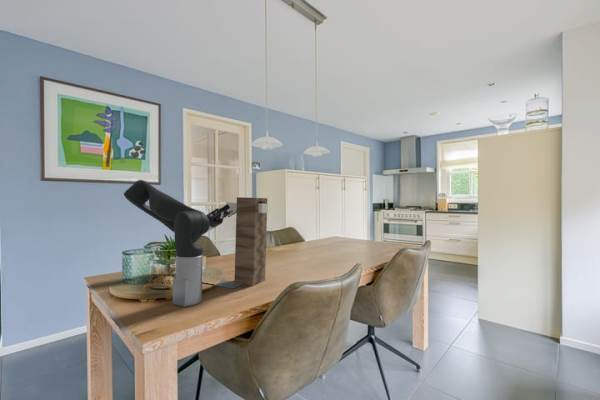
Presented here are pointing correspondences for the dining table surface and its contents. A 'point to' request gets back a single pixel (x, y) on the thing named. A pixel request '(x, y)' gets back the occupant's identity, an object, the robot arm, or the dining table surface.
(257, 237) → the socket tower
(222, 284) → the mat
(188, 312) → the dining table surface
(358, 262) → the dining table surface
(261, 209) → the plug bar
